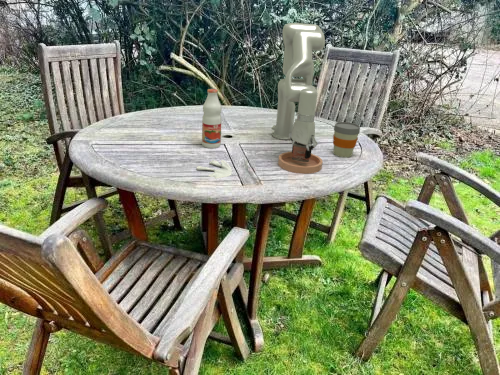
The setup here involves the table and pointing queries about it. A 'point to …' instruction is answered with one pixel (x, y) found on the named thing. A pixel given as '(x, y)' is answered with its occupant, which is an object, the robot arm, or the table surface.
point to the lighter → (299, 152)
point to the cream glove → (220, 173)
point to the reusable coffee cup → (345, 138)
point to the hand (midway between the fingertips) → (301, 155)
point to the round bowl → (300, 164)
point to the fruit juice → (211, 120)
